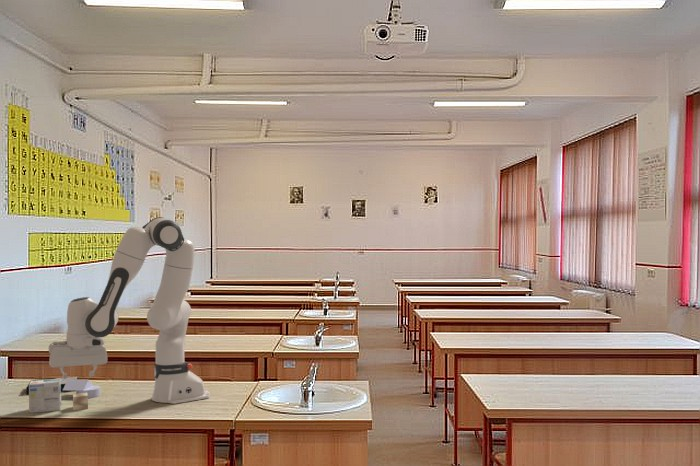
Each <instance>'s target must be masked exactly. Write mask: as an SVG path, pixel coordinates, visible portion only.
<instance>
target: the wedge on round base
mask: <svg viewBox="0 0 700 466" xmlns="http://www.w3.org/2000/svg"><path fill="white" fill-rule="evenodd" d="M63 390H76V391H75V392H76V393H75V394H79V393H87V394H88V400H90V399H95V398H98V397H100V396H101V386H100V385H96V384H93V382H91V380H89V379H68V380H67V382H66V384H65V386H64V388H63Z"/></svg>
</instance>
